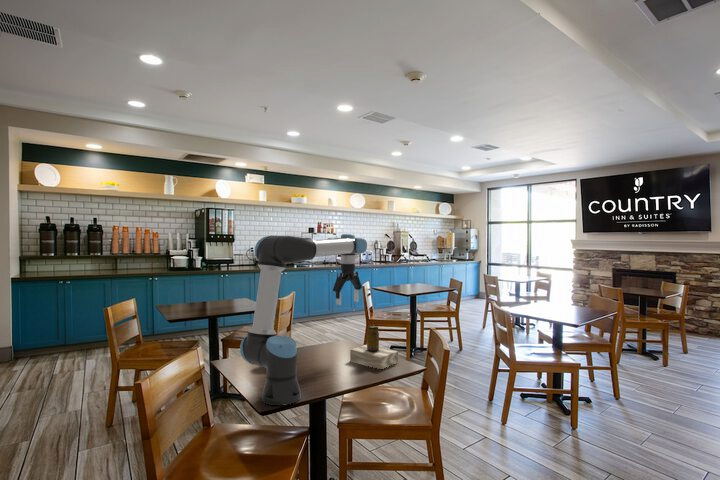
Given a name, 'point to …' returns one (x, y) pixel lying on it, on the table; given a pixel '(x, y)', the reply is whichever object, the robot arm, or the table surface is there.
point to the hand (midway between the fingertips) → (347, 303)
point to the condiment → (373, 340)
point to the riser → (374, 357)
